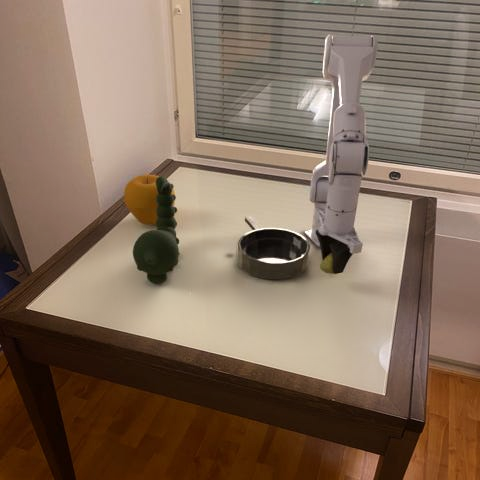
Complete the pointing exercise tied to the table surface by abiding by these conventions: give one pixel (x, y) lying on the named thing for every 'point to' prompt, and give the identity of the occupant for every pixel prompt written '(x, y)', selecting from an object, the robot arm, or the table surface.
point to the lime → (327, 264)
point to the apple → (143, 198)
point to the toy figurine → (159, 238)
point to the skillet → (273, 253)
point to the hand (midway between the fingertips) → (332, 267)
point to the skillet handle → (253, 224)
